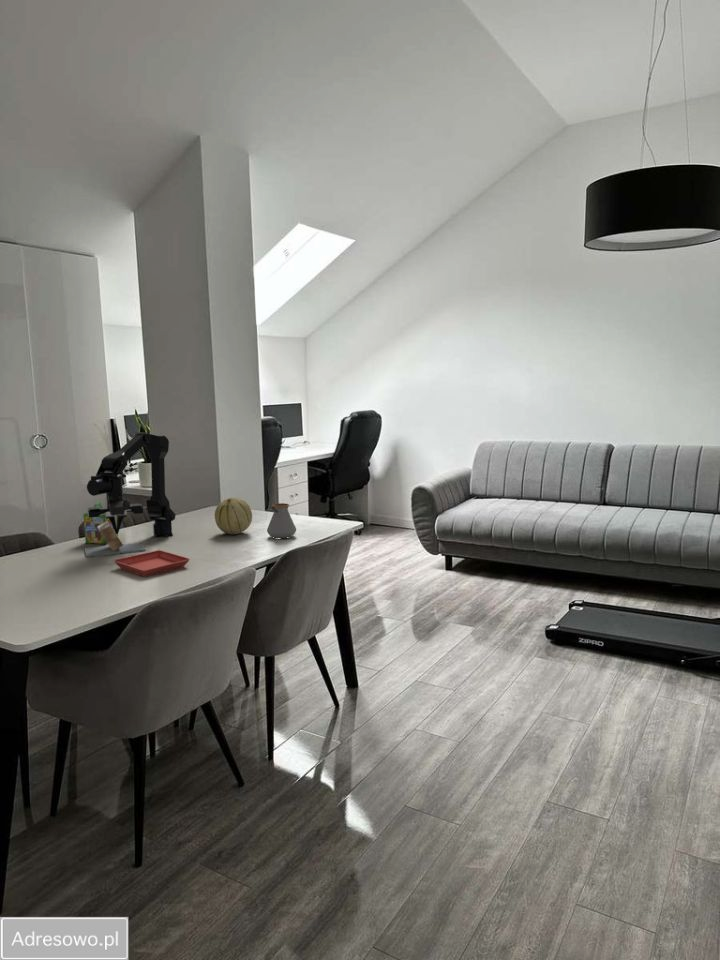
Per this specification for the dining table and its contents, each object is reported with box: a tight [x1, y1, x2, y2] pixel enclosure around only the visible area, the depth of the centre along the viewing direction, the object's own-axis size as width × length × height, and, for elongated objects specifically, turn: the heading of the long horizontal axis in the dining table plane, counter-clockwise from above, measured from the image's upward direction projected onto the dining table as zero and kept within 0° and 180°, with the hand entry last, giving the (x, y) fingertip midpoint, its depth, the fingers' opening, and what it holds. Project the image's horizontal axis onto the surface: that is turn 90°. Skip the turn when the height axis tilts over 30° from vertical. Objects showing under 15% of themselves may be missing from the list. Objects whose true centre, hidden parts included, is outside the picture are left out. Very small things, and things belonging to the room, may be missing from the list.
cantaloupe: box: [214, 497, 253, 535], centre depth 283 cm, size 15×15×15 cm
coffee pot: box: [266, 502, 297, 539], centre depth 272 cm, size 21×12×15 cm, turn 174°
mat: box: [83, 542, 146, 558], centre depth 259 cm, size 20×12×1 cm, turn 114°
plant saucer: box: [113, 549, 190, 577], centre depth 235 cm, size 18×18×3 cm
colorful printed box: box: [83, 502, 119, 545], centre depth 272 cm, size 9×9×15 cm
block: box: [98, 521, 124, 551], centre depth 257 cm, size 4×8×9 cm, turn 23°
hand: (116, 533), depth 258 cm, fingers closed
